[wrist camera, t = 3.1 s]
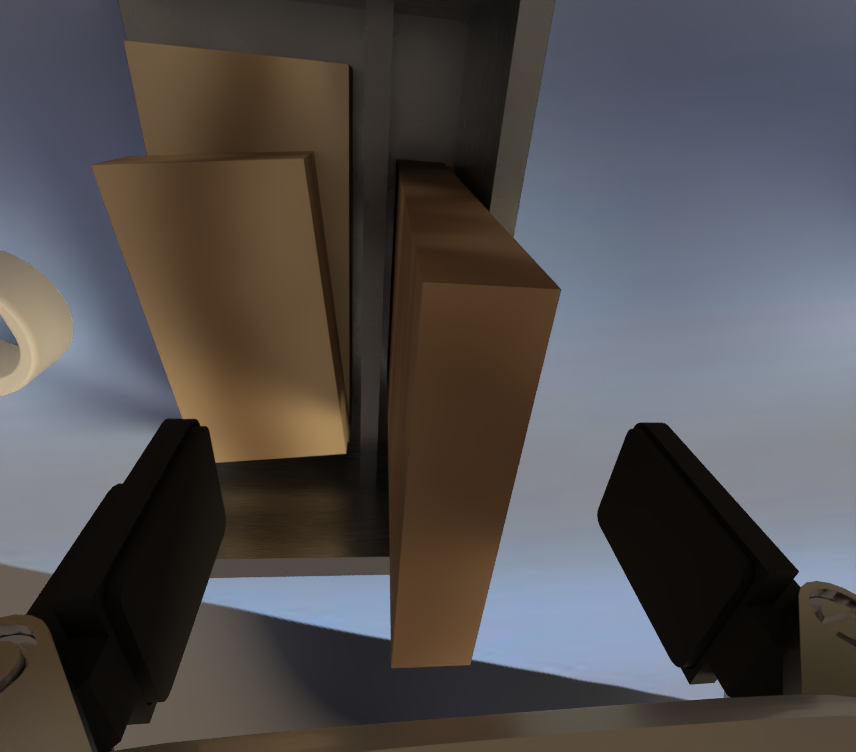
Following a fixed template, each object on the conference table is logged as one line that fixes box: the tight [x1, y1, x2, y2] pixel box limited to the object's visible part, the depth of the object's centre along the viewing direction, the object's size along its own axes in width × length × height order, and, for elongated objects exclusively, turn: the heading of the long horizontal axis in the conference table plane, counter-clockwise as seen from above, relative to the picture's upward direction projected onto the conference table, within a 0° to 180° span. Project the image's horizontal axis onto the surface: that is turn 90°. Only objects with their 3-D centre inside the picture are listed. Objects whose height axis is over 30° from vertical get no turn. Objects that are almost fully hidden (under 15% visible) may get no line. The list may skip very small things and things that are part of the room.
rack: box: [118, 0, 555, 578], centre depth 19 cm, size 13×22×9 cm, turn 175°
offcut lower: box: [124, 41, 353, 442], centre depth 20 cm, size 7×16×2 cm, turn 175°
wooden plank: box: [387, 159, 561, 668], centre depth 15 cm, size 2×10×15 cm, turn 175°
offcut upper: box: [91, 151, 350, 463], centre depth 18 cm, size 6×12×2 cm, turn 1°
